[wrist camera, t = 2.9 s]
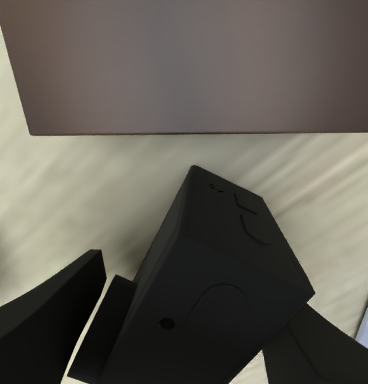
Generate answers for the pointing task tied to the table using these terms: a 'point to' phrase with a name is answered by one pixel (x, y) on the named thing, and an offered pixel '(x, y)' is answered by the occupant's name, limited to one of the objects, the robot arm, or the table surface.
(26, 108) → the desk shelf
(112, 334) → the digital camera
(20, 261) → the table surface
